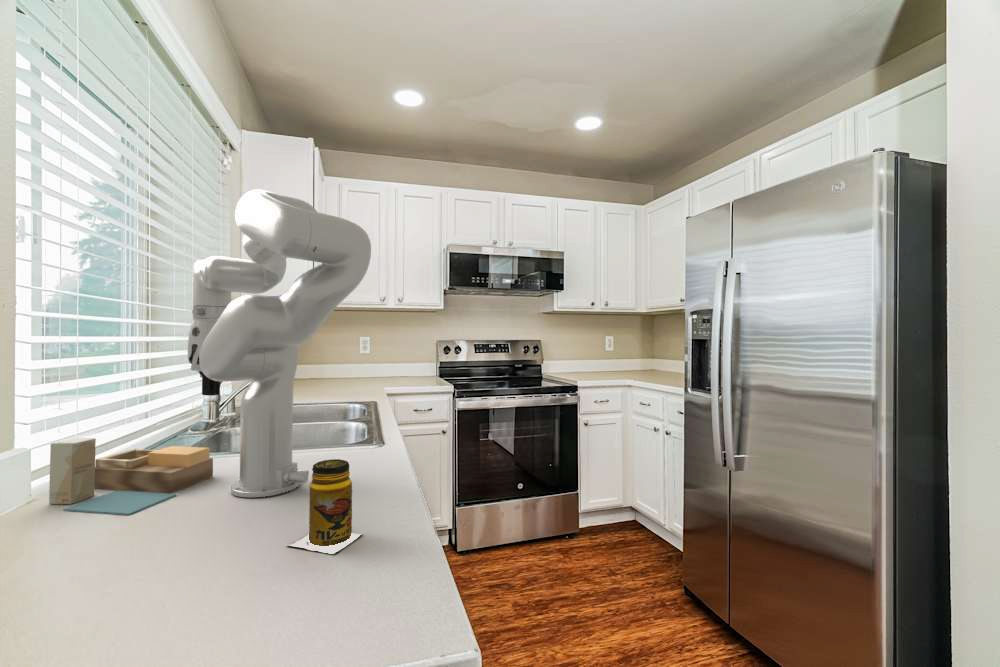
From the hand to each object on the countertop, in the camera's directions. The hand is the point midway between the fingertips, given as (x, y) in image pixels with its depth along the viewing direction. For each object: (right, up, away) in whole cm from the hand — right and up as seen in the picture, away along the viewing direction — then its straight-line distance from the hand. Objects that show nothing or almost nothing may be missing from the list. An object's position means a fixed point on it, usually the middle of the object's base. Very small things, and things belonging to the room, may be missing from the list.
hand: (210, 394), depth 110 cm
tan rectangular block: (-1, -13, -9) cm, 16 cm away
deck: (-6, -17, -10) cm, 21 cm away
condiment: (+40, -18, -37) cm, 57 cm away
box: (-13, -17, -21) cm, 30 cm away
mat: (-3, -17, -22) cm, 28 cm away
